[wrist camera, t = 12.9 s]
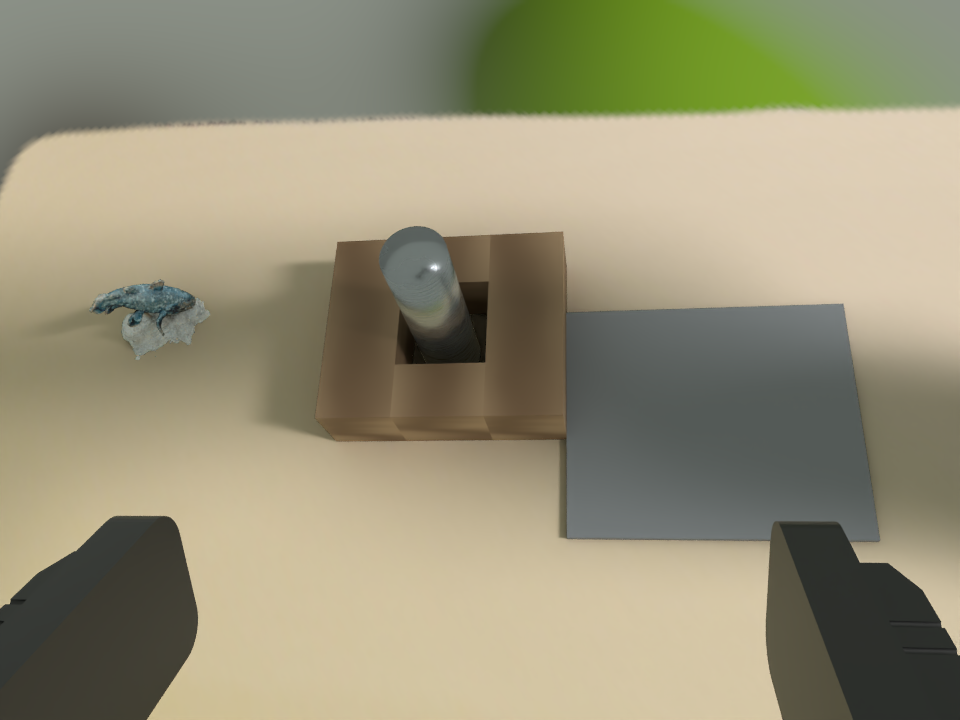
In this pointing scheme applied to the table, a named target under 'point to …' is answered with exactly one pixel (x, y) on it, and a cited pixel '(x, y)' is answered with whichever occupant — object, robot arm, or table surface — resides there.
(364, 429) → the hole block
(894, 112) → the table surface
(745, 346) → the mat
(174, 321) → the sculpture
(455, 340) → the peg
